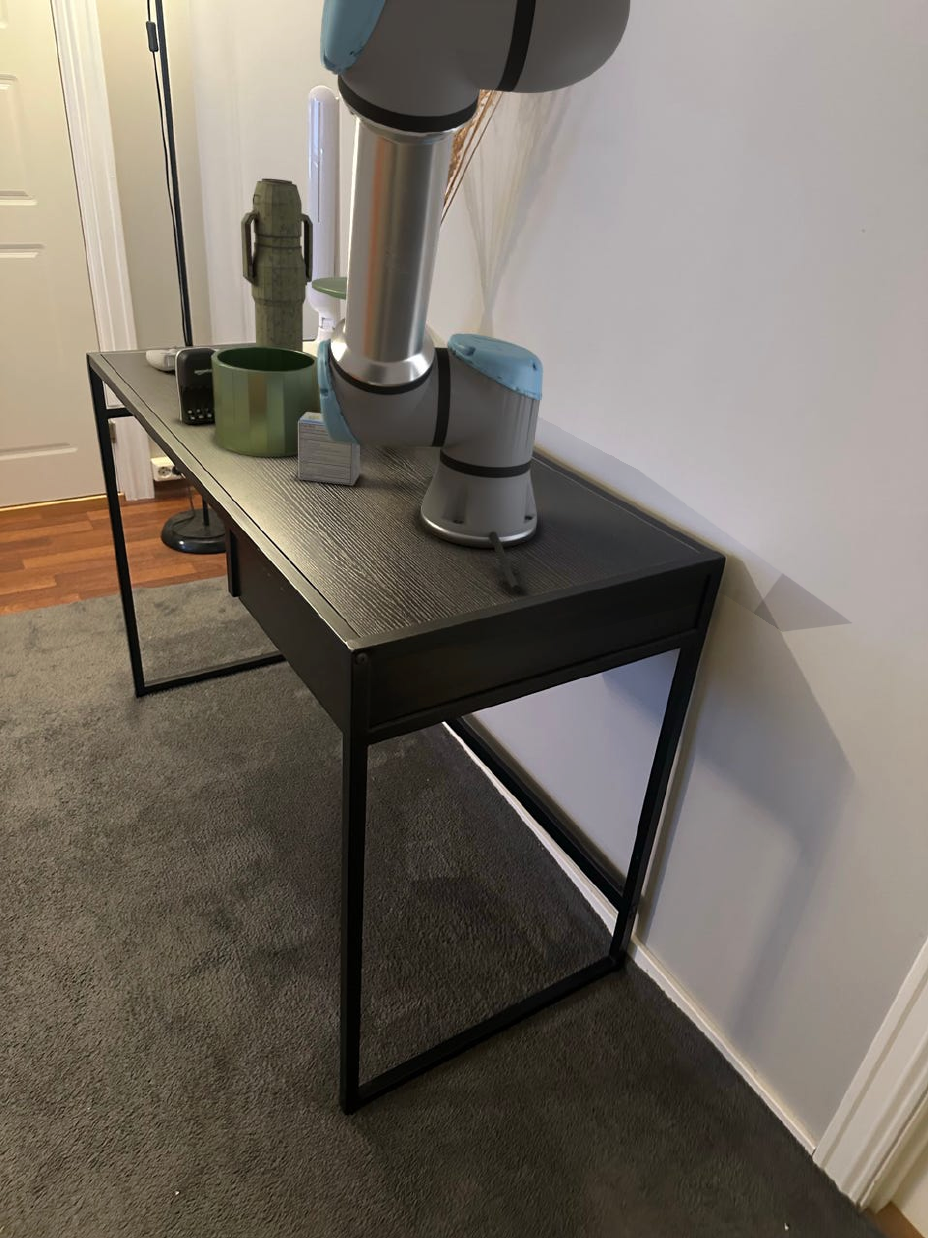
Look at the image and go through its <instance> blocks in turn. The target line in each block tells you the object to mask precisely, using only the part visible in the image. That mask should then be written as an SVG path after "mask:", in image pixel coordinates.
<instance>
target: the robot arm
mask: <svg viewBox="0 0 928 1238" xmlns="http://www.w3.org/2000/svg"><path fill="white" fill-rule="evenodd" d="M630 11H631V0H323V6H322V17H321V26H320V27H321V28H320V41H319V42H320V43H319V44H320V47H319V58H320V64H321V66H322V67H323V68H324V69H325V70H327V71H329V72H331V73H332V75H335V76H336V75H337V91H338V93H339V97H340V99H341V101H342V102H343V104H344V105H345V107H346V108H347V109H348V113H349V115H351V116H354V123H353V144H352V146H353V147H352V168H351V191H350V209H349V210H350V211H349V213H350V214H349V230H348V231H349V232H348V233H349V234H348V235H349V236H348V239H349V240H348V253H347V254H348V255H347V275H346V277H347V298H346V300H345V301H346V302H345V317H344V318H342V319H341V320H340V321H339V322H338V323H337V324H336V325H335V327H334V329H333V330H332V333H331V338H327V339H326V340H322V341H320V342H319V343H318V346H317V350H316V351H317V352H316V357H317V368H318V383H319V391H320V413H321V414H322V418H323V424H324V428H325V431H326V433H327V435H328V436H329V437H330V438H331V439H332V440H334V441H336V442H342V443H351V444H356V445H360V446H389V447H390V446H395V447H423V448H424V447H426V448H427V447H429V448H439V456H438V457H439V458H438V465H437V466H436V469H435V471H434V473H433V476H425V487H426V486H428V488H427V490H426V492H425V495H424V497H423V499H422V503H421V506H420V518H419V519H420V524H421V525H422V526H423V527H424V529H425V530H426V531H428V532H429V533H430V534H432V535H433V536H436V537H437V538H440V539H442V540H445V541H446V542H450V543H453V544H457V545H459V546H465V547H470V548H471V547H472V548H481V549H494V551H495V553H496V556H497V558H498V562H499V564H500V568H501V569H502V572H503V575H504V577H505V580H506V582H507V583H508V585H509V586H510V588H511V590H512V592H513V593H518V592H520V591H521V586H520V584H519V582H518V580H517V579H516V577H515V575H514V572H513V571H512V568H511V566H510V564H509V559H508V558H507V555H506V553H505V549H504V548H508V547H514V546H518V545H521V544H523V543H525V542H528V541H529V540H530V539H531V538H533V537H534V535H535V534H536V531H537V524H538V512H537V506H536V500H535V496H534V490H533V485H532V478H531V467H532V461H533V460H532V459H533V454H534V453H533V452H534V445H535V439H536V432H537V425H538V419H539V411H540V404H541V400H543V381H544V380H543V378H544V377H543V376H544V367H543V363H542V361H541V359H540V357H538V355H536V354H535V353H533V352H532V351H531V350H529V349H527V348H525V347H522V346H520V345H518V344H516V343H512V342H509V341H506V340H503V339H500V338H496V337H491V336H486V335H482V334H476V333H459V332H458V333H454V334H451V336H450V337H449V339H448V341H447V342H446V346H447V347H440V346H439V347H438V346H435V343H434V340H433V338H432V335H430V333H429V332H428V330H427V329H426V325H427V318H428V311H429V303H430V298H431V292H432V286H433V285H432V284H433V278H434V271H435V265H436V258H437V252H438V246H439V245H438V244H439V238H440V232H441V226H442V218H443V213H444V206H445V198H446V194H447V193H446V192H447V185H448V178H449V173H450V165H451V158H452V153H453V145H454V139H455V134H456V133H457V132H458V131H460V130H462V129H463V128H465V127H467V126H468V125H469V124H470V123H471V122H472V120H473V119H474V118H475V116H476V113H477V111H478V110H477V109H478V105H479V100H480V99H479V98H480V94H481V90H483V91H496V92H503V93H515V94H540V93H547V92H553V91H558V90H561V89H564V88H568V87H570V86H573V85H575V84H578V83H580V82H582V81H584V80H586V79H587V78H589V77H591V76H592V75H593V74H594V73H595V72H597V71H598V70H599V69H601V68H602V67H603V66H604V65H605V64H606V63H607V62H608V61H609V60H610V58H611V57H612V56H613V55H614V54H615V52H616V50H617V48H618V47H619V45H620V43H621V42H622V39H623V36H624V34H625V32H626V29H627V25H628V22H629V17H630Z"/></svg>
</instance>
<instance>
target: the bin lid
mask: <svg viewBox="0 0 928 1238" xmlns="http://www.w3.org/2000/svg"><path fill="white" fill-rule="evenodd" d="M311 289H313V290H314V291H316V292H319V293H322V294H325V295H328V296H330V297H333V298H336V299H340V300H344V301H346V298H347V276H330V277H321V278H316V279H314V280H312V282H311Z"/></svg>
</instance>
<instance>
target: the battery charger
mask: <svg viewBox="0 0 928 1238" xmlns="http://www.w3.org/2000/svg"><path fill="white" fill-rule="evenodd" d="M213 349H214V348H212V347H209V346H197V347H186V348H181V349H179V351H178V352H177V353H176V355H175V369H174V376H175V385H176V386H175V387H176V392H177V393H176V394H177V400H178V417H179V420H180V421H181V422H182V423H186V424H189V425H199V424H207V423H208V424H209V423H213V422H214V423H215V413H214V396H213V378H212V361H211V356H212V355H213V354H214V353H215V352H216V351H214V350H213Z"/></svg>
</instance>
